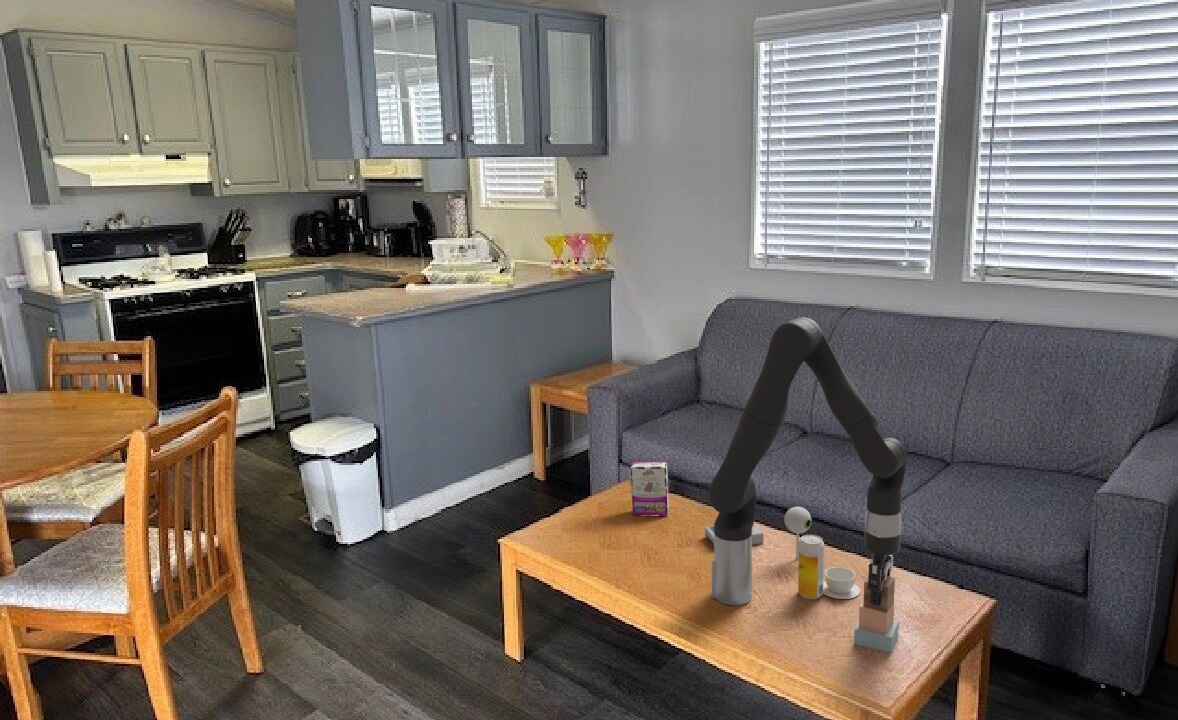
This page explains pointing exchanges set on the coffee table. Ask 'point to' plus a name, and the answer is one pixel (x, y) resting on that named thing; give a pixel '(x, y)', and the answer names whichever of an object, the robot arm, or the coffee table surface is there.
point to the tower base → (877, 637)
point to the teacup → (840, 583)
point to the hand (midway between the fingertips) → (880, 595)
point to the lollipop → (797, 523)
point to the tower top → (876, 618)
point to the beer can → (811, 566)
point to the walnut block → (886, 594)
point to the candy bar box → (649, 488)
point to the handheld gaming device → (756, 534)
